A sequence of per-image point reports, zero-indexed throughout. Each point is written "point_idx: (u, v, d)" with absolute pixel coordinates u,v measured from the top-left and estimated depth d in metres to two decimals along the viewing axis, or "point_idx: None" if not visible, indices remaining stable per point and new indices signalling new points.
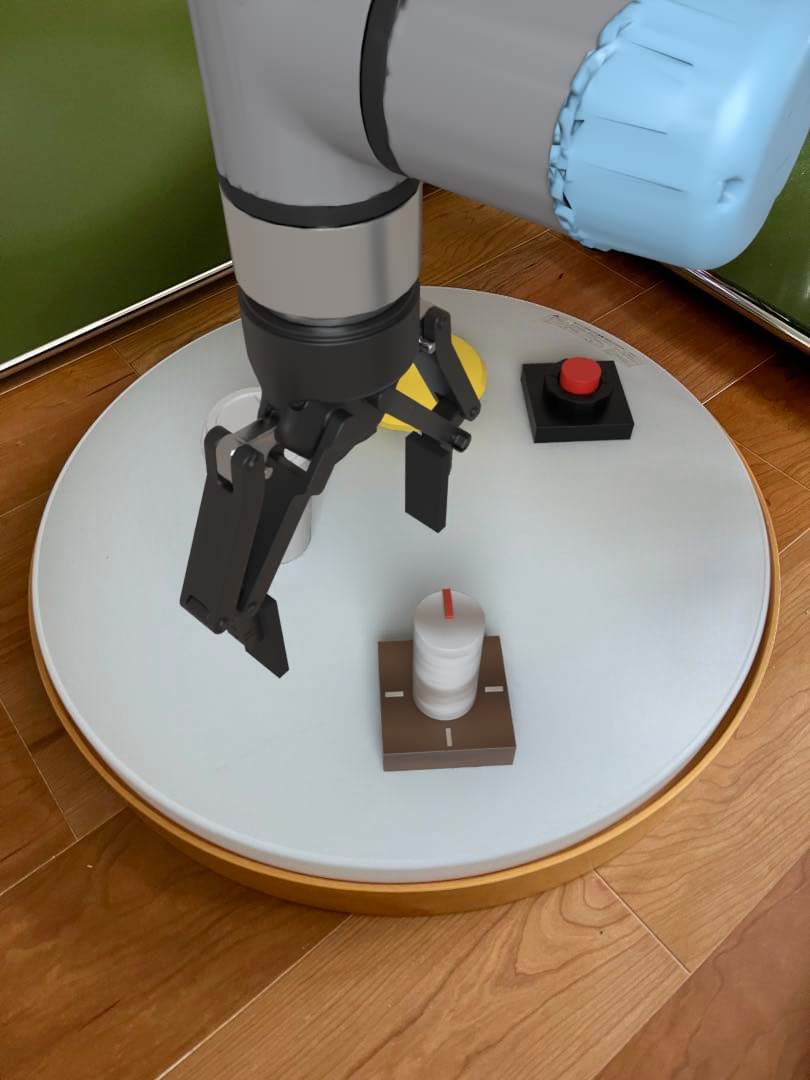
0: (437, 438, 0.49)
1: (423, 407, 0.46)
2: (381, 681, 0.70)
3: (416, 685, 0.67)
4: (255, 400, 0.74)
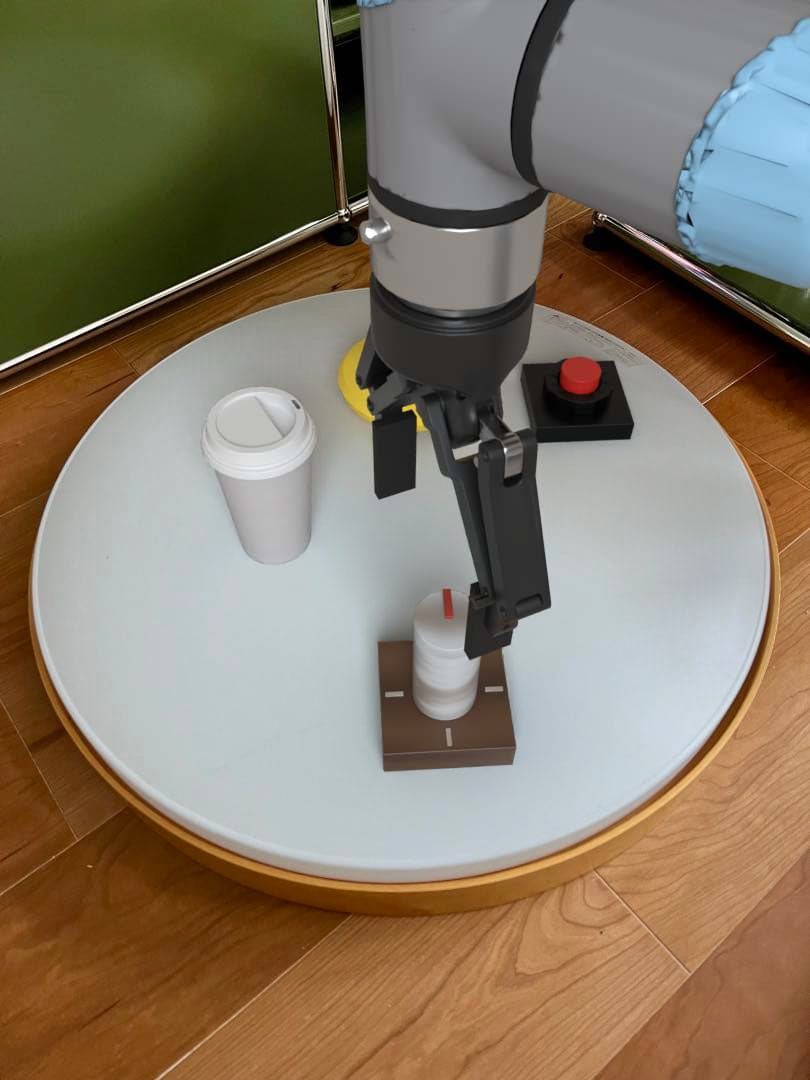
0: None
1: None
2: (381, 681, 0.70)
3: (416, 685, 0.67)
4: (255, 400, 0.74)
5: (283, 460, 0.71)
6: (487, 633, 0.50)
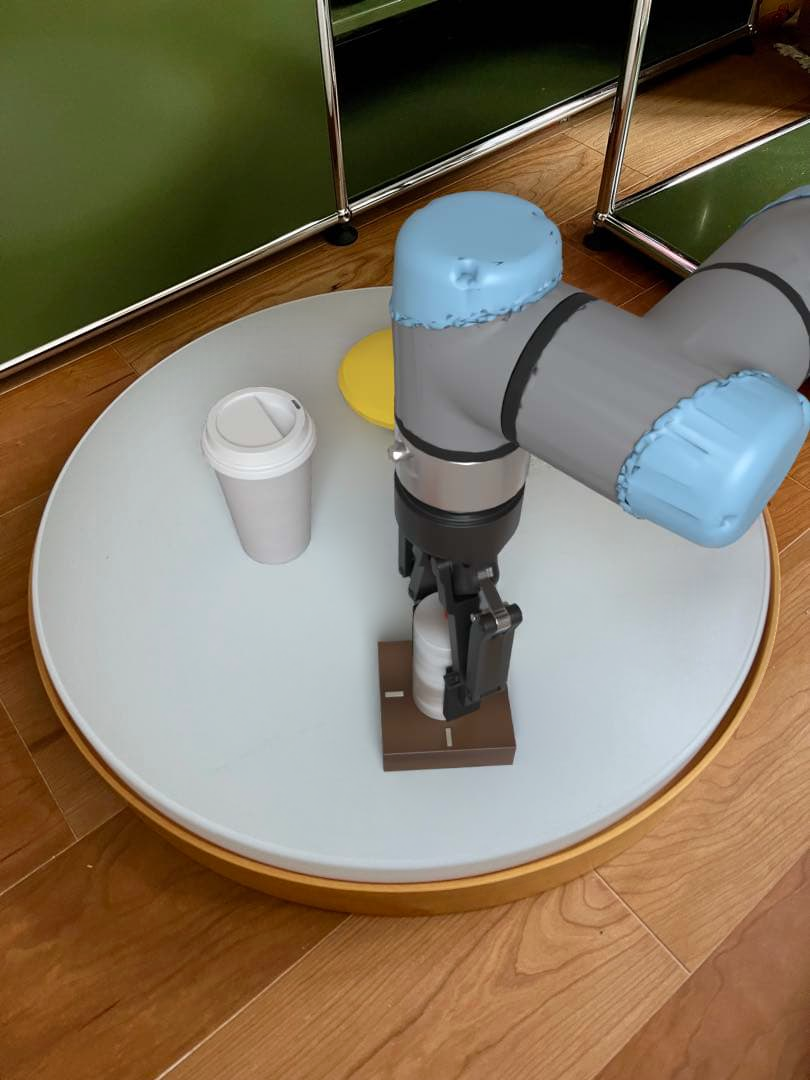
0: None
1: None
2: (381, 681, 0.70)
3: (416, 685, 0.67)
4: (255, 400, 0.74)
5: (283, 460, 0.71)
6: (460, 703, 0.65)
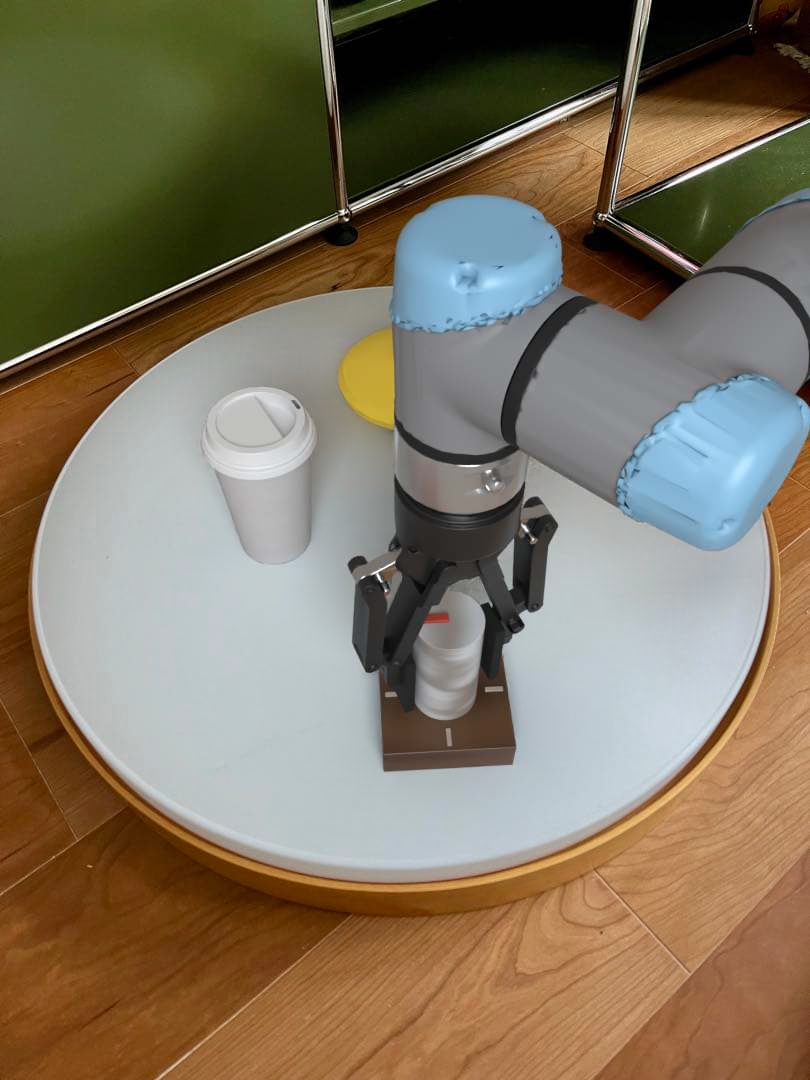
0: None
1: (398, 589, 0.59)
2: (381, 681, 0.70)
3: (462, 698, 0.66)
4: (255, 400, 0.74)
5: (283, 460, 0.71)
6: None
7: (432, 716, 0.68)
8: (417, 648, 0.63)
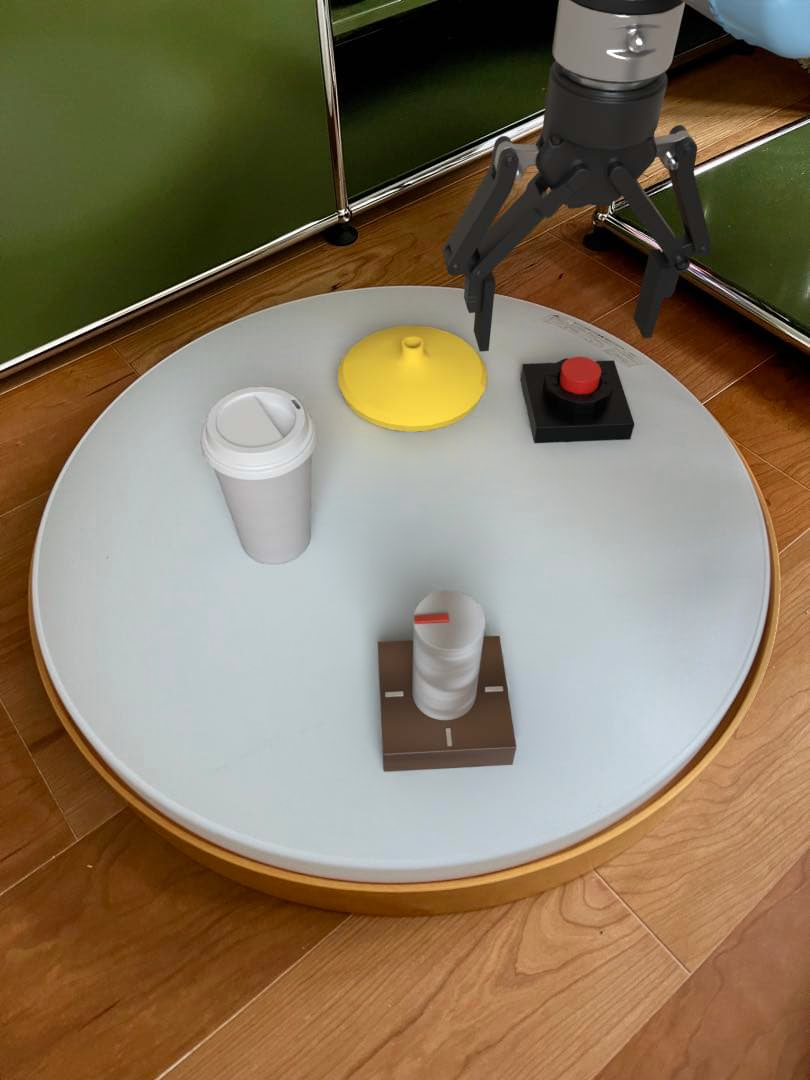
0: None
1: (515, 202, 0.65)
2: (381, 681, 0.70)
3: (462, 698, 0.66)
4: (255, 400, 0.74)
5: (283, 460, 0.71)
6: None
7: (432, 716, 0.68)
8: (417, 648, 0.63)
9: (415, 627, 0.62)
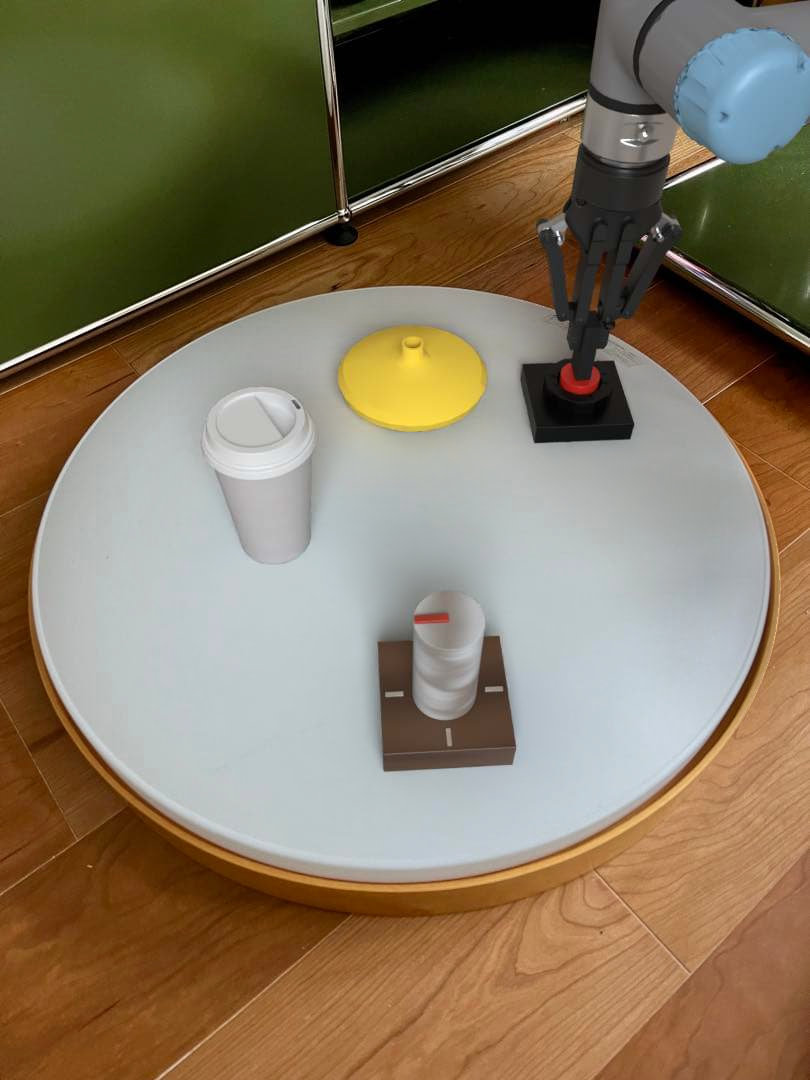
0: None
1: (579, 260, 0.83)
2: (381, 681, 0.70)
3: (462, 698, 0.66)
4: (255, 400, 0.74)
5: (283, 460, 0.71)
6: None
7: (432, 716, 0.68)
8: (417, 648, 0.63)
9: (415, 627, 0.62)
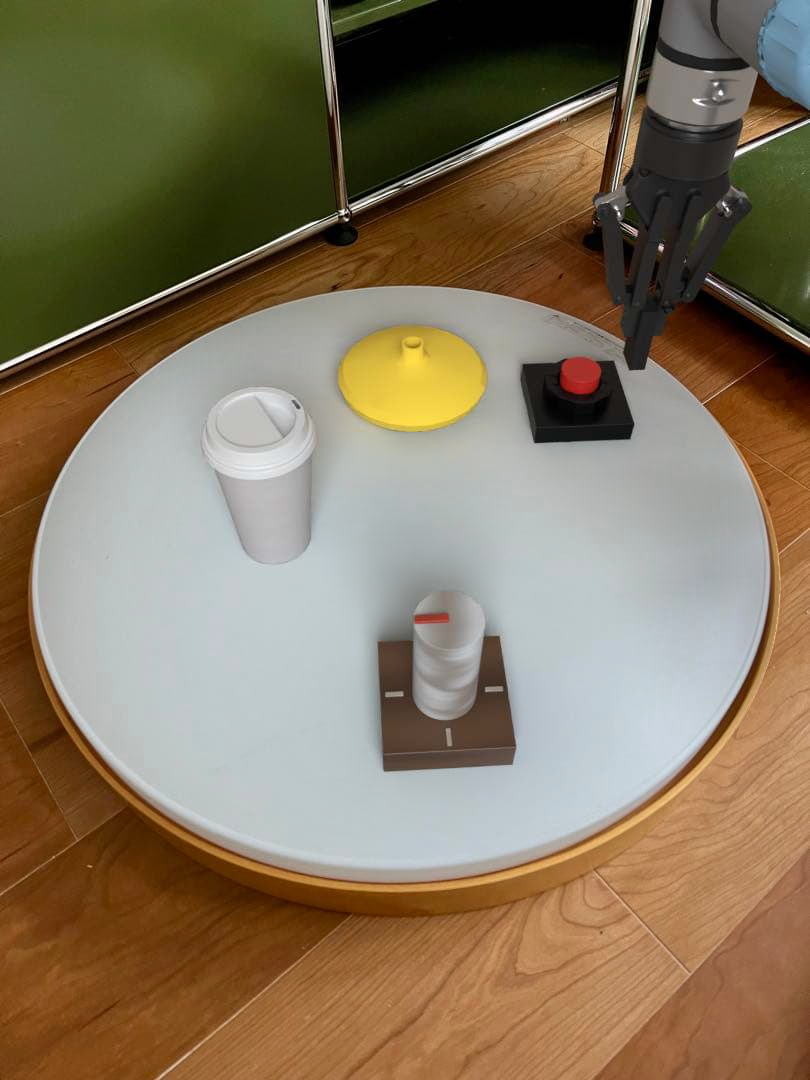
0: None
1: (637, 239, 0.77)
2: (381, 681, 0.70)
3: (462, 698, 0.66)
4: (255, 400, 0.74)
5: (283, 460, 0.71)
6: None
7: (432, 716, 0.68)
8: (417, 648, 0.63)
9: (415, 627, 0.62)
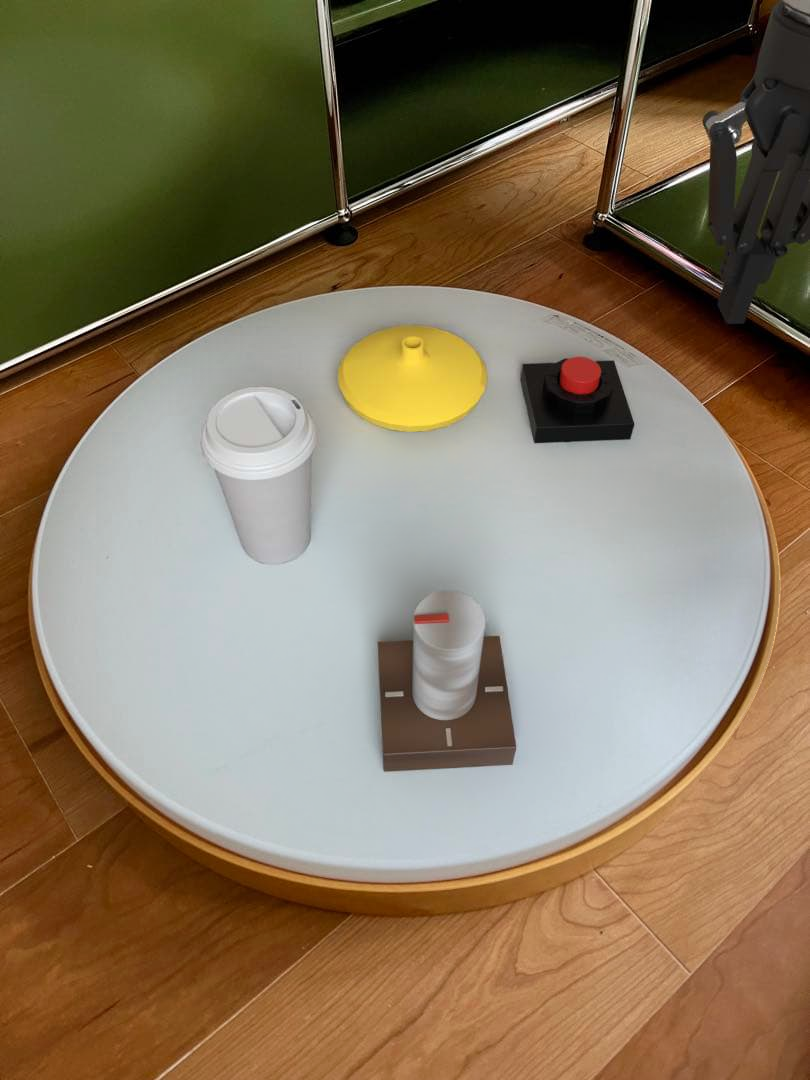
0: None
1: (748, 169, 0.67)
2: (381, 681, 0.70)
3: (462, 698, 0.66)
4: (255, 400, 0.74)
5: (283, 460, 0.71)
6: None
7: (432, 716, 0.68)
8: (417, 648, 0.63)
9: (415, 627, 0.62)
